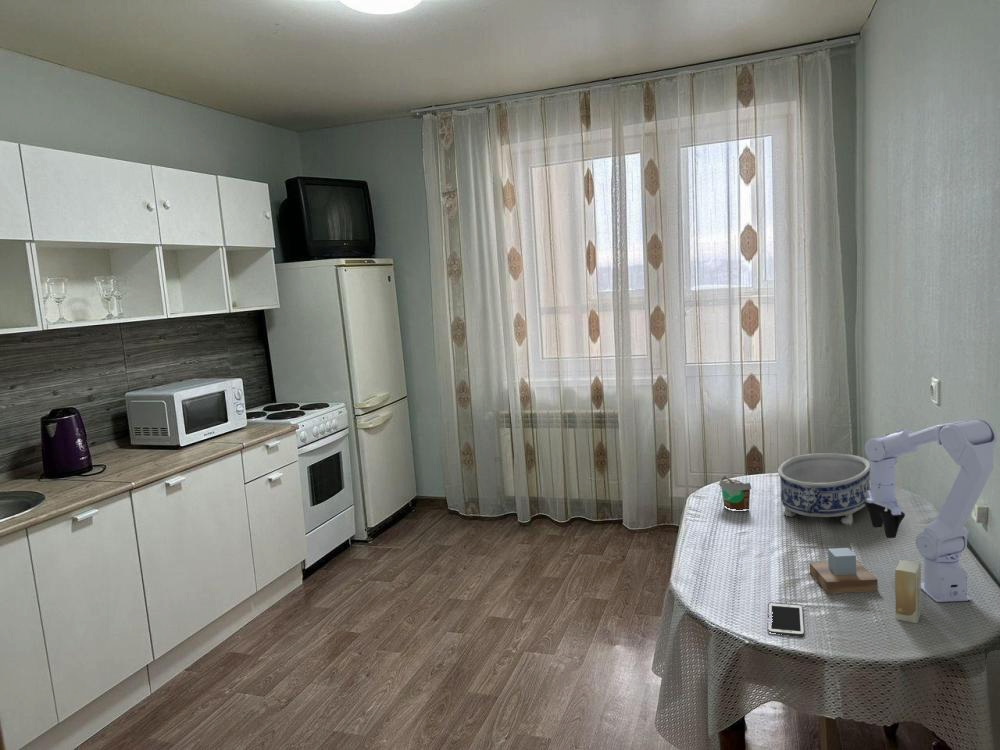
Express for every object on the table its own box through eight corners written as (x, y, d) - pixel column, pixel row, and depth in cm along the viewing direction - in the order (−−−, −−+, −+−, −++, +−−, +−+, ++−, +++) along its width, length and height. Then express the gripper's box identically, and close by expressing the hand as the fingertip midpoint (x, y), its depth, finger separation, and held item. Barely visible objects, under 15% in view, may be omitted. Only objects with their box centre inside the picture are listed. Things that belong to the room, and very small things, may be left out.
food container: (712, 506, 242) (711, 478, 241) (726, 502, 245) (724, 475, 243) (738, 515, 231) (737, 486, 230) (752, 511, 233) (751, 483, 232)
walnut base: (877, 590, 172) (877, 579, 171) (827, 593, 173) (827, 582, 173) (856, 570, 184) (856, 559, 183) (809, 573, 185) (809, 562, 184)
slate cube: (856, 574, 175) (855, 555, 174) (835, 575, 176) (835, 556, 175) (848, 566, 180) (848, 547, 179) (828, 567, 181) (827, 548, 180)
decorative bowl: (857, 537, 205) (856, 488, 203) (764, 524, 221) (762, 479, 219) (880, 494, 239) (879, 452, 237) (798, 486, 255) (797, 446, 253)
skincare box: (900, 608, 163) (899, 558, 161) (921, 612, 160) (921, 562, 158) (894, 620, 158) (894, 568, 156) (916, 624, 155) (916, 572, 154)
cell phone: (802, 608, 168) (802, 604, 167) (804, 638, 154) (804, 634, 154) (768, 605, 171) (768, 601, 170) (767, 635, 157) (767, 631, 157)
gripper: (855, 475, 189) (856, 523, 191) (880, 491, 175) (881, 543, 177) (882, 473, 189) (883, 521, 191) (909, 490, 175) (910, 541, 176)
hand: (884, 532), depth 184 cm, fingers open, 7 cm apart
